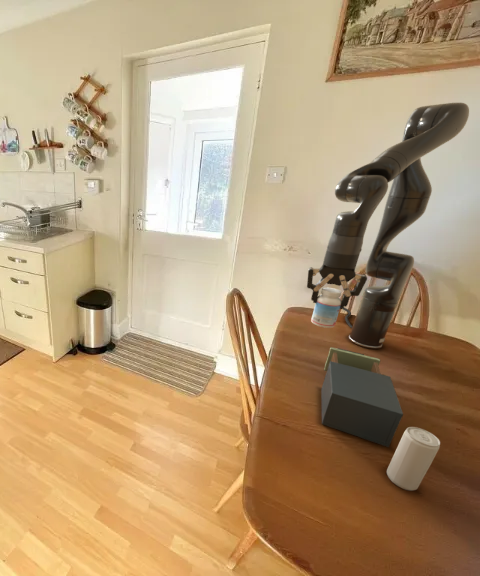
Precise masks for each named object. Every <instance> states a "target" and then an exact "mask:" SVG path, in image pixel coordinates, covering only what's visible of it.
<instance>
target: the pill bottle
mask: <svg viewBox="0 0 480 576" xmlns="http://www.w3.org/2000/svg"><path fill="white" fill-rule="evenodd" d="M320 293H321V294H318V297H317V301H316V303H314V307H313V311H312V315H311V318H310V322H311V323H312V324H313V325H315V326H317V327H319V328H326V329H332V328H334V327H336V323H337V320H338V316H339V312H340V311H341V310H340V309H341V308H340V306H341V301H342V298H340V297H341V296H342V291H341V290H340V289H338V288H334V287H322V288H321V291H320Z"/></svg>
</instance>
